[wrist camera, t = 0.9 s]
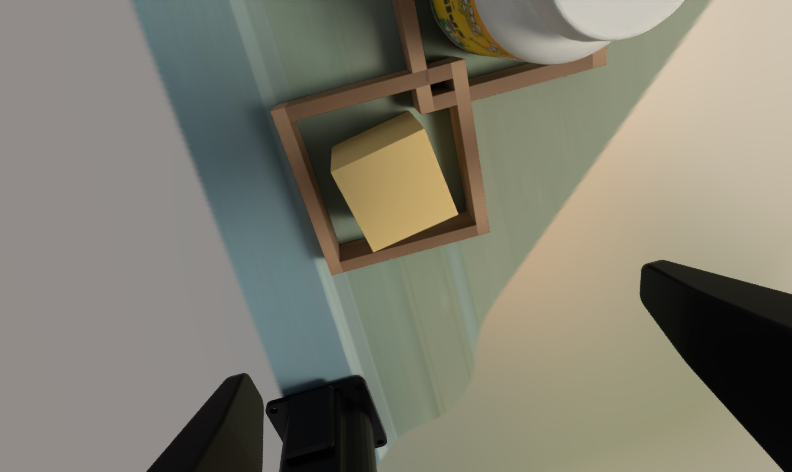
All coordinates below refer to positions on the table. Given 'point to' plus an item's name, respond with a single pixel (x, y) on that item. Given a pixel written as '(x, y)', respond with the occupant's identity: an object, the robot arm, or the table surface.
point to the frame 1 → (442, 70)
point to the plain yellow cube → (392, 181)
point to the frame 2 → (480, 85)
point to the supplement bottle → (545, 26)
